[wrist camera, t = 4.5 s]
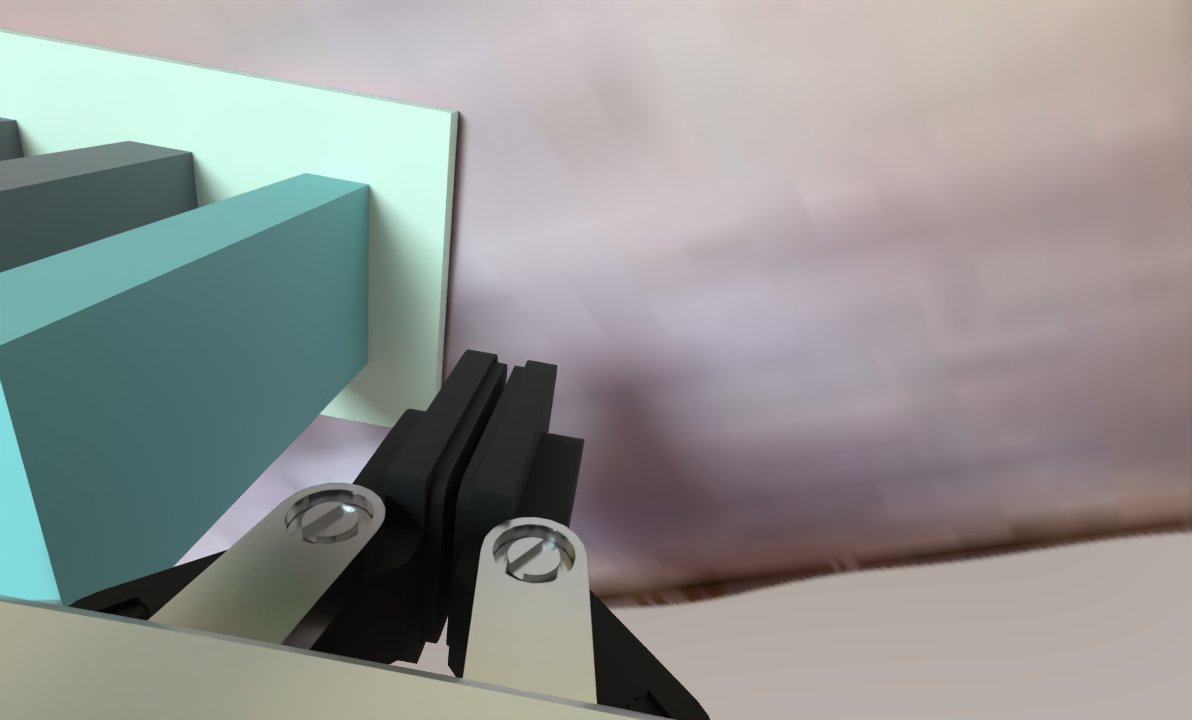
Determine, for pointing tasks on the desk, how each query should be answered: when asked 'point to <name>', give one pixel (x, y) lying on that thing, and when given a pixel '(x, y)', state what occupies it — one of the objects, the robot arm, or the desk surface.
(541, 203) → the desk surface
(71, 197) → the tile
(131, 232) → the tile
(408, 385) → the mat
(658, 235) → the desk surface
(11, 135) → the tile
